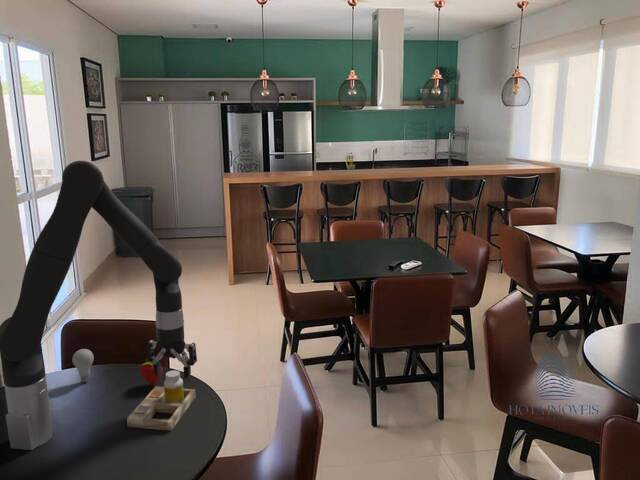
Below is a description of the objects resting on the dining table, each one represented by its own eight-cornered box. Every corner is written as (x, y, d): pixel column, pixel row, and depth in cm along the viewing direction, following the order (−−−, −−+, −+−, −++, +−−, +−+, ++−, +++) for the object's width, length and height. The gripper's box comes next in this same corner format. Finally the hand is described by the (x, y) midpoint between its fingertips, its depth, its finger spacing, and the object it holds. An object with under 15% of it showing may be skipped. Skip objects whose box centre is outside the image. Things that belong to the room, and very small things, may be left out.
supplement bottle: (184, 407, 150) (182, 376, 148) (164, 409, 149) (162, 378, 147) (184, 397, 155) (182, 368, 153) (165, 400, 154) (163, 370, 152)
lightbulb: (81, 388, 161) (77, 355, 158) (71, 382, 164) (67, 350, 162) (99, 380, 165) (96, 349, 163) (89, 375, 169) (86, 344, 166)
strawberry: (154, 392, 158) (151, 362, 156) (136, 386, 162) (134, 357, 159) (168, 384, 163) (166, 355, 161) (151, 378, 167) (148, 350, 165)
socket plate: (171, 430, 139) (170, 421, 138) (127, 426, 141) (126, 417, 140) (195, 396, 156) (195, 388, 155) (156, 393, 158) (155, 385, 157)
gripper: (139, 326, 144) (143, 380, 147) (188, 330, 142) (191, 384, 145) (152, 317, 151) (155, 368, 155) (198, 320, 149) (200, 372, 153)
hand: (172, 376), depth 150 cm, fingers open, 8 cm apart
